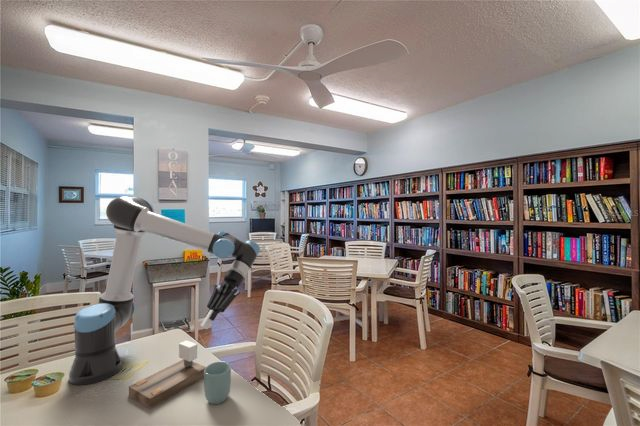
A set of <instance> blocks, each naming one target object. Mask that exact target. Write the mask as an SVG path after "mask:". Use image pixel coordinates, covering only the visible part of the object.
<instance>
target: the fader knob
mask: <svg viewBox="0 0 640 426" xmlns="http://www.w3.org/2000/svg"><path fill="white" fill-rule="evenodd" d="M178 354H179V355H178V357H179V359H182V360H183V359H184V366H186V367H189V366H191V365H193V362H194V360H197V359H198V343H195V342H192V341H190V340H187V339H186V340H184V341H181V342H180V343H179V342H178Z"/></svg>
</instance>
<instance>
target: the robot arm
mask: <svg viewBox="0 0 640 426" xmlns="http://www.w3.org/2000/svg"><path fill="white" fill-rule="evenodd" d="M105 209H106V210H105V213H106V214H105V215H106V218H107V220H108V221H109V222H110V223H111V224H113V229H114V230H115V232H116V237H115V242H114V247H113V252H112V258H111V262H110V267H109V272H108V277H107V281H106V282H107V283H106V288H105V291H104V292H102V293H101V294H100V295H99V298H98V303H95V304H92V305H90V306H87V307H84V308H82V309H81V310H79V311H78V312H77V313H76V314H75V316H74V322H73V328H74V354H75V355H74V359H73V361H72V365H71V368H70V370H69V373H68V374H69V375H68V379H69V380H68V381H69V383H70V384H72V385H76V386H83V385H84V386H85V385H91V384H96V383H99V382H102V381H104V380H107V379H108V378H110V377H113V376H114V375H116V374H117V373H118V372H119V371H120V370H121V369H122V359H121V356H120V354H119V352H118V351H119V350H118V349H117V347H116V332H117V331H118V330H119V329H121V328H122V327H123V326H124V325H126V324H127V323H128V322H130V320H131V319H132V317H134V316H133V315H134V314H135V312H136V311H135V310H136V304H135V302H134V297H135V296H134V294H133V293H132V292H131V290H132V285H133V282H134V281H133V280H134V276H135V271H136V267H137V266H136V265H137V261H138V256H139V252H140V251H139V249H140V247H141V242H142V241H141V240H142V236H143V235H144V234H146V233H148V234H152V235H155V236H157V237H161V238H163V239H167V240H169V241H174V242H176V243H179V244H182V245H186V246H188V247H191V248H194V249H198V250H201V251H204V252H206V253H209V254H213V255H214V256H215V257H217V258H218V259H227V258H229V257H232V258H234V260H233V262H232V263H231V265H230V266H229V268H228V270H227V271H226V273H225V274H224V276H223V280H222V282H221V283H220V285H217V284H216V285H214V287H213V291H212V293H211V296H210V299H209V300H208V303H207V306H206V307H207V308H208V312H207V313H206V314H205V316H204V319H203V320H202V322H201V323H200V327H202V328H203V329H204V330H208V329H209V328H210V327H211V324H212V323H213V321H215V319H216V318H217V316H218V314H220V313H224V312H225V311H226V310H227V309H228V307H229V306H230V305H231V303H233V301H234V300H235V298H236V297H238V295H240V293H241V292H240V291H239V290H238V288H239V287H240V286H241V285H242V284H243V283H242V282H244V280H245V279H244V278H246V276H247V274H248V272H249V270H251V269H250V268H252V265H253V264H254V262H255V260H256V259H257V257H258V255H259V254H260V251H261V247H260V246H259V244H258V243H256V242H255V241H252V240H246V241H245V242H243V241H242V240H240V239H238V238H237V237H235V236H234V235H232V234H231V233H229V232H227V231H225V230H220V231H219V232H218V233H215V232H211V231H208V230H205V229H203V228H199V227H197V226H193V225H190V224H187V223H185V222H181V221H179V220H176V219H173V218H170V217H167V216H164V215H163V214H162V215H161V214H159V213H155V209H154V206H153V205H152V203H150V202H149V201H148V200H147V199H145V198H141V197H139V196H137V197H136V196H119V197H115V198H114V199H112V200H111V201H110V202H109V203H108V204H107V206H106V208H105Z"/></svg>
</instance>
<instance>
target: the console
mask: <svg viewBox="0 0 640 426" xmlns="http://www.w3.org/2000/svg"><path fill="white" fill-rule="evenodd" d="M206 367H207V366H204V365H201V364H200V363H197V362H195V361H193V365H191V366H189V367H186V366H184V359H182V360H180V361H178V362H175V363H173V364H172V365H169V366H167V367H166V368H163V369H161V370H159V371H157V372H155V373H153V374H151V375H149V376H146V377H145V378H143V379H141V380H139V381H137V382H135V383H133V384H130V385H129V386H128V397H130V398H132V399H134V400H136V401H137V402H139V403H140V404H142V405H144V406H145V407H146V408H148V409H152V408H155V407H156V406H157V405H159V404H161V403H162V402H164V401H166V400H168V399H170V398H171V397H173V396H174V395H177V394H178V393H179V392H181V391H183V390H185V389H186V388H188V387H190V386H192V385H193V384H195V383H196V382H198V381H200V380H202V379H204V370H205V368H206Z"/></svg>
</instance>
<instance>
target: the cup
mask: <svg viewBox="0 0 640 426" xmlns="http://www.w3.org/2000/svg"><path fill="white" fill-rule="evenodd" d="M205 367H206V368H205V370H204V377H203V392H204V396H205V397H204V398H205V399H206V401H207V402H208V403H209V404H212V405H219V404H221V403H223V402H225V401H226V400H227V399H228V397H229V395H230V392H231V387H232V386H231V385H232V384H231V383H232V371H231V370H232V367H231V363H229V362H227V361H215V362H211V363H210V364H208V365H206V366H205Z"/></svg>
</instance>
